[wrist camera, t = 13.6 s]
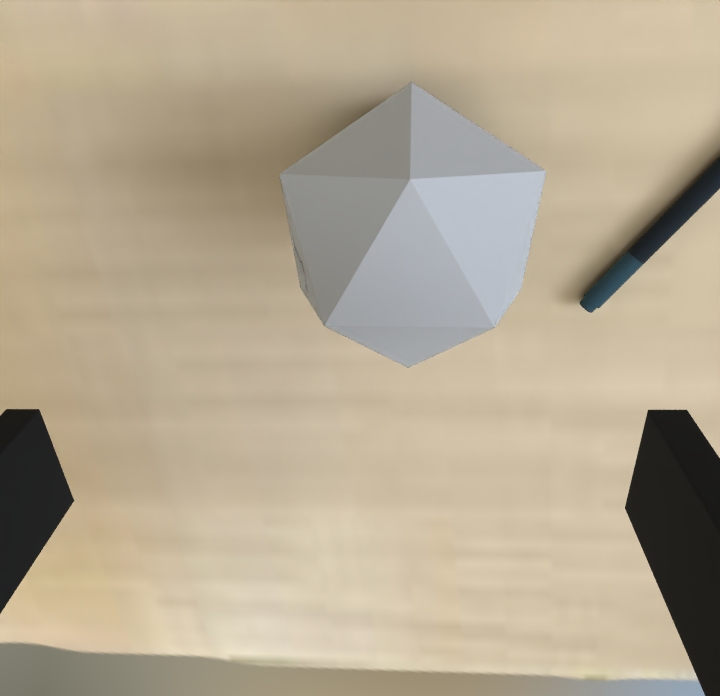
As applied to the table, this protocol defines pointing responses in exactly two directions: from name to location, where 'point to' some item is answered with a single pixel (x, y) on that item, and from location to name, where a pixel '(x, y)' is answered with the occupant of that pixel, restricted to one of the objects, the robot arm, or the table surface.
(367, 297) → the die
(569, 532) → the table surface
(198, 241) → the table surface
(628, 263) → the pen
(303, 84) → the table surface
